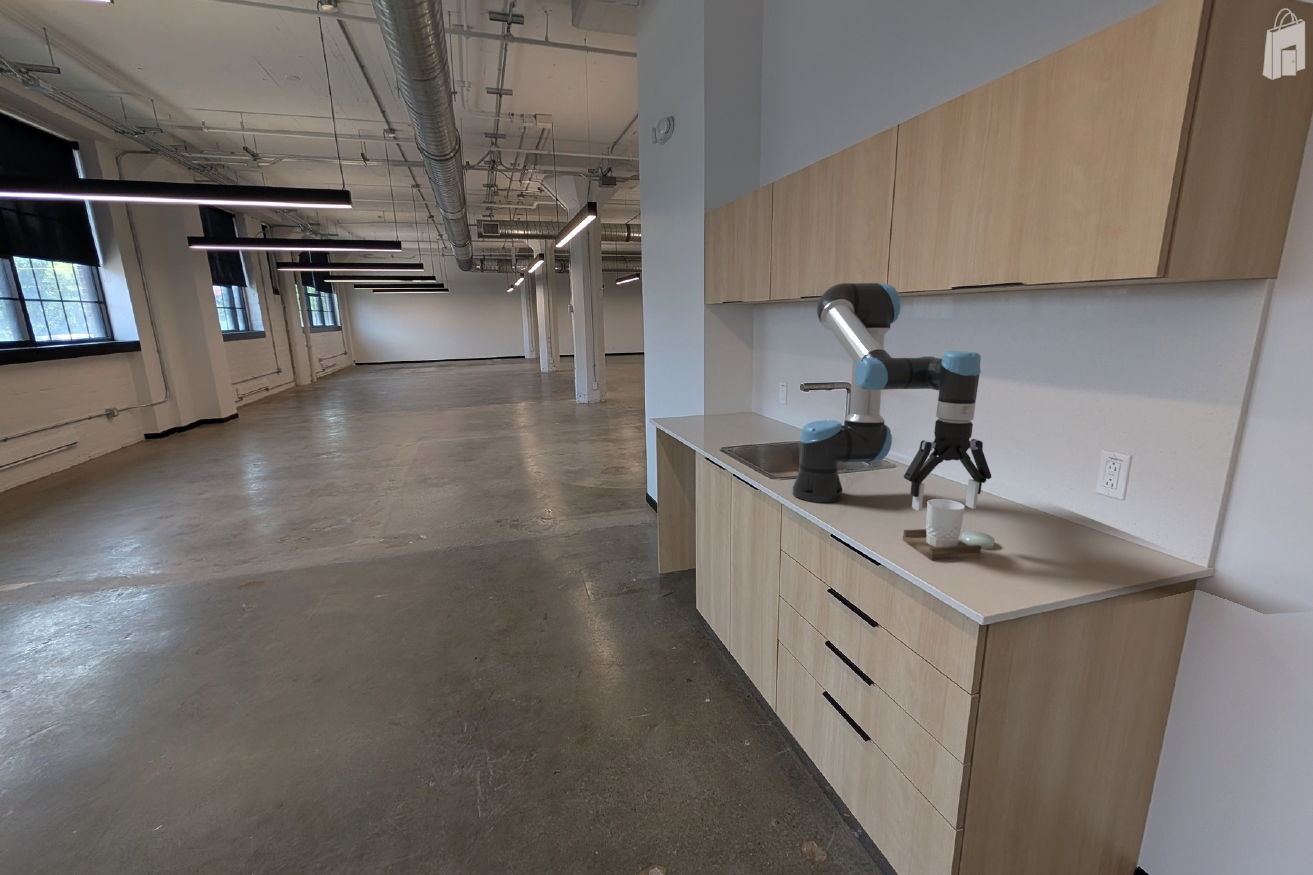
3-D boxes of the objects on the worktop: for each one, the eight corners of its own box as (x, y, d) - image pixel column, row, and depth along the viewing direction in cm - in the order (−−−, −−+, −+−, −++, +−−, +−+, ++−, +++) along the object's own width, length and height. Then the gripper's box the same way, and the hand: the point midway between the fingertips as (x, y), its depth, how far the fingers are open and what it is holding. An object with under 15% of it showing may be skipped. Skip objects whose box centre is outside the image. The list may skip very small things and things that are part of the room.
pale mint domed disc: (954, 539, 136) (955, 532, 135) (980, 538, 136) (981, 530, 136) (973, 550, 129) (974, 543, 128) (1000, 549, 130) (1001, 541, 129)
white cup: (931, 534, 135) (935, 496, 133) (965, 544, 129) (970, 504, 127) (917, 543, 130) (921, 503, 128) (952, 553, 124) (957, 512, 122)
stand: (902, 539, 135) (903, 529, 134) (947, 537, 136) (948, 527, 135) (931, 560, 123) (932, 549, 122) (980, 557, 124) (981, 546, 124)
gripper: (911, 424, 118) (902, 515, 123) (1017, 422, 121) (1004, 511, 125) (893, 418, 125) (885, 504, 130) (993, 416, 128) (981, 501, 133)
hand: (943, 508), depth 128 cm, fingers open, 13 cm apart
